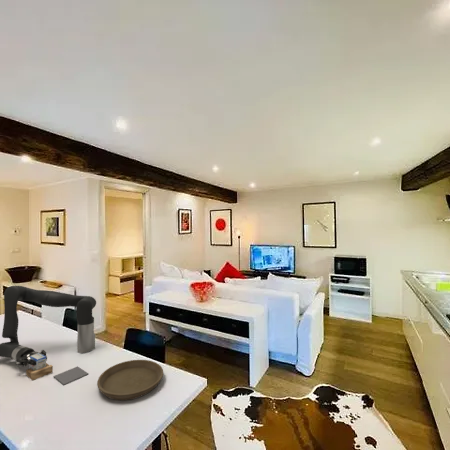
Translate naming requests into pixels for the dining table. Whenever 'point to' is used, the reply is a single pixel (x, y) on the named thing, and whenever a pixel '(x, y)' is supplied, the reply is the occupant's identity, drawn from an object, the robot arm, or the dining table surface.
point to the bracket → (39, 372)
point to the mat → (70, 375)
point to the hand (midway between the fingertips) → (40, 361)
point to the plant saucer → (130, 379)
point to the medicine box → (38, 361)
